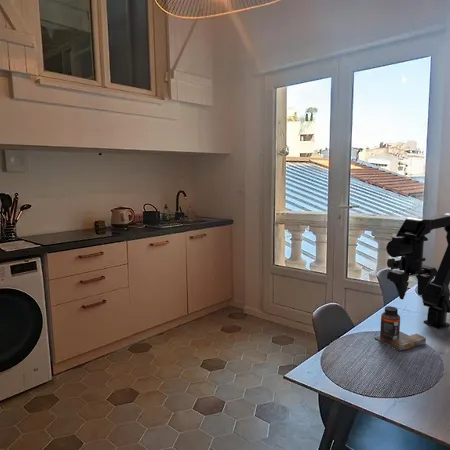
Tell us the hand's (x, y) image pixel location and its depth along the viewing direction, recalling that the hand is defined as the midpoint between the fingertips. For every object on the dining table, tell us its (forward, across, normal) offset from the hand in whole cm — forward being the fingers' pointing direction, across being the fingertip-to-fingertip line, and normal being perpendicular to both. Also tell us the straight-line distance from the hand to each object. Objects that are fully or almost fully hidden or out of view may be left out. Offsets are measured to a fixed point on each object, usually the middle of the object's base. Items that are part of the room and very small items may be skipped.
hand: (410, 297), depth 133 cm
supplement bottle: (+13, +12, +2) cm, 18 cm away
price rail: (+13, +9, +7) cm, 17 cm away
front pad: (+13, +9, +2) cm, 16 cm away
